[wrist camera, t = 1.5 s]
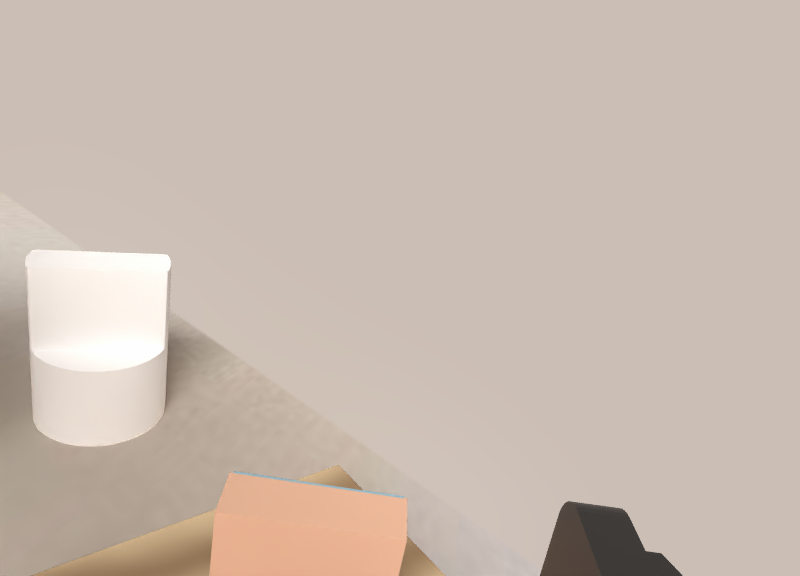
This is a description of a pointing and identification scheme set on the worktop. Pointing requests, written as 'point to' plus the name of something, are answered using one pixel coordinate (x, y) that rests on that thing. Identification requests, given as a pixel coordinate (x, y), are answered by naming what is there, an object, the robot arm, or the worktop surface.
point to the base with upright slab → (97, 343)
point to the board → (201, 547)
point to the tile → (305, 529)
